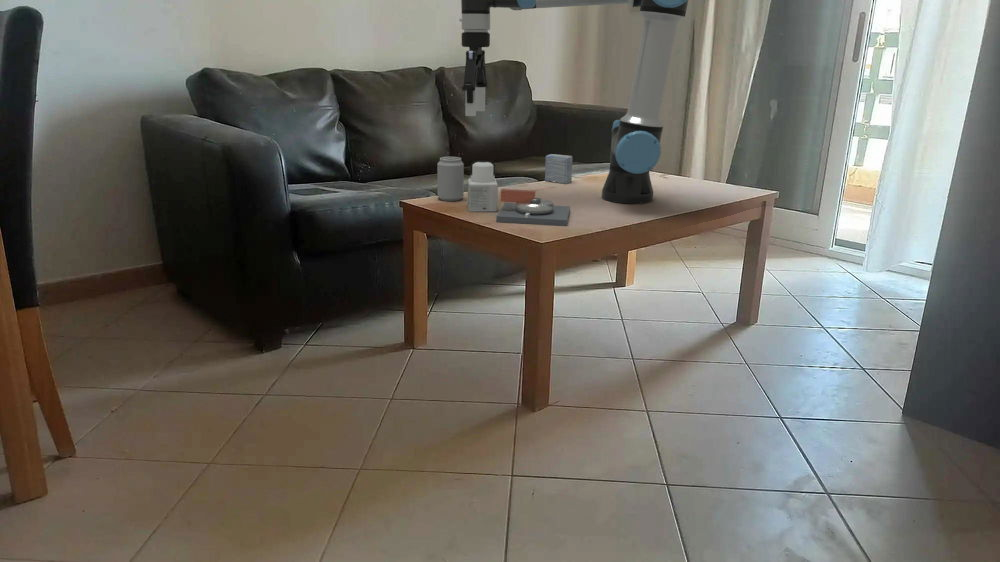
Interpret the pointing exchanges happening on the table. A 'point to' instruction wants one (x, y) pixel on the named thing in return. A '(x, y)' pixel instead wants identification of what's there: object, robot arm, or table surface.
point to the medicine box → (558, 168)
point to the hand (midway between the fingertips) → (475, 113)
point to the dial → (527, 201)
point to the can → (450, 178)
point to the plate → (533, 216)
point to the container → (482, 187)
